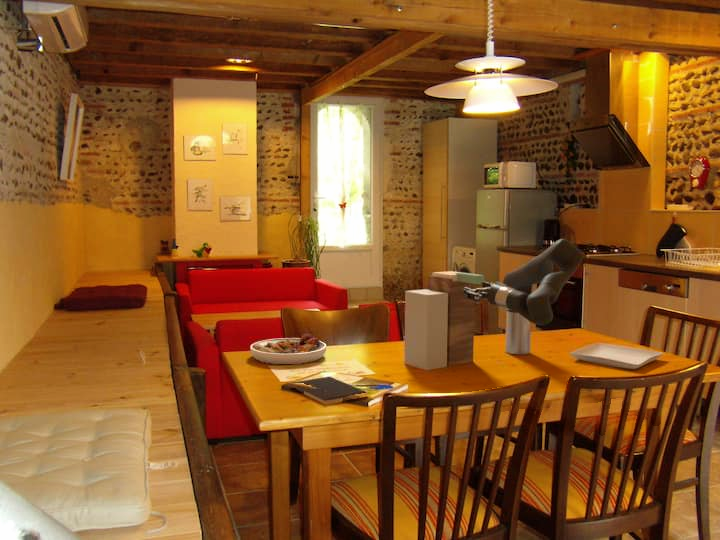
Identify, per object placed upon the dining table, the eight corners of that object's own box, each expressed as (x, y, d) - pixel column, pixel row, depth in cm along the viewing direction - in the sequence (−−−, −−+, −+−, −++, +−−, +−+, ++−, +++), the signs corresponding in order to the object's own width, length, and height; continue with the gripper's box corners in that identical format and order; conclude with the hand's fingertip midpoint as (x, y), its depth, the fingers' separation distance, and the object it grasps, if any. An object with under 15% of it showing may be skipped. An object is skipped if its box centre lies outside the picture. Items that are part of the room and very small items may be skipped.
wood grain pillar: (473, 362, 264) (475, 277, 261) (449, 366, 257) (450, 279, 254) (450, 355, 275) (452, 274, 272) (426, 359, 268) (428, 275, 265)
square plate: (568, 361, 268) (568, 351, 267) (597, 350, 288) (598, 341, 287) (637, 373, 249) (638, 363, 249) (664, 361, 269) (664, 351, 269)
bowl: (295, 370, 250) (295, 349, 249) (234, 360, 266) (234, 340, 265) (340, 355, 276) (340, 336, 275) (282, 346, 291) (282, 328, 291)
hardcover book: (324, 407, 207) (324, 399, 207) (289, 389, 227) (289, 382, 226) (368, 398, 216) (368, 391, 216) (331, 382, 235) (331, 376, 235)
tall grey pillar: (446, 366, 257) (448, 293, 254) (426, 370, 251) (427, 295, 248) (424, 360, 267) (425, 289, 264) (404, 363, 261) (405, 291, 259)
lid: (489, 282, 253) (489, 274, 253) (470, 284, 247) (470, 276, 247) (451, 277, 270) (451, 269, 270) (432, 278, 265) (432, 271, 264)
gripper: (519, 281, 233) (488, 272, 247) (487, 292, 226) (457, 281, 240) (520, 302, 235) (489, 291, 249) (488, 313, 229) (458, 301, 242)
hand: (473, 287), depth 244 cm, fingers open, 8 cm apart
